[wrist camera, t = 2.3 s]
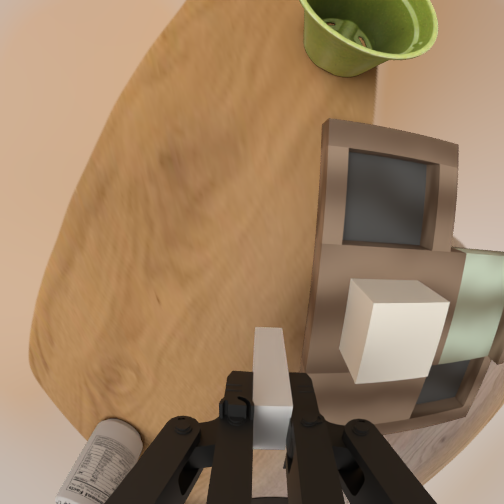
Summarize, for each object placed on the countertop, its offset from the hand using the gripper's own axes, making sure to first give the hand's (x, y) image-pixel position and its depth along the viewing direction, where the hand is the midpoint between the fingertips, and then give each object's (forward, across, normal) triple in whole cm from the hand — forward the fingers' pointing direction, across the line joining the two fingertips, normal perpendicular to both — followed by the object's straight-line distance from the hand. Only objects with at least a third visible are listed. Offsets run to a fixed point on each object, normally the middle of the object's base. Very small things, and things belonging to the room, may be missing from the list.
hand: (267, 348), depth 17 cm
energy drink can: (+8, +16, +20) cm, 26 cm away
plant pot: (+9, -5, -21) cm, 24 cm away
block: (+6, -9, 0) cm, 11 cm away
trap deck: (+9, -14, +1) cm, 17 cm away
